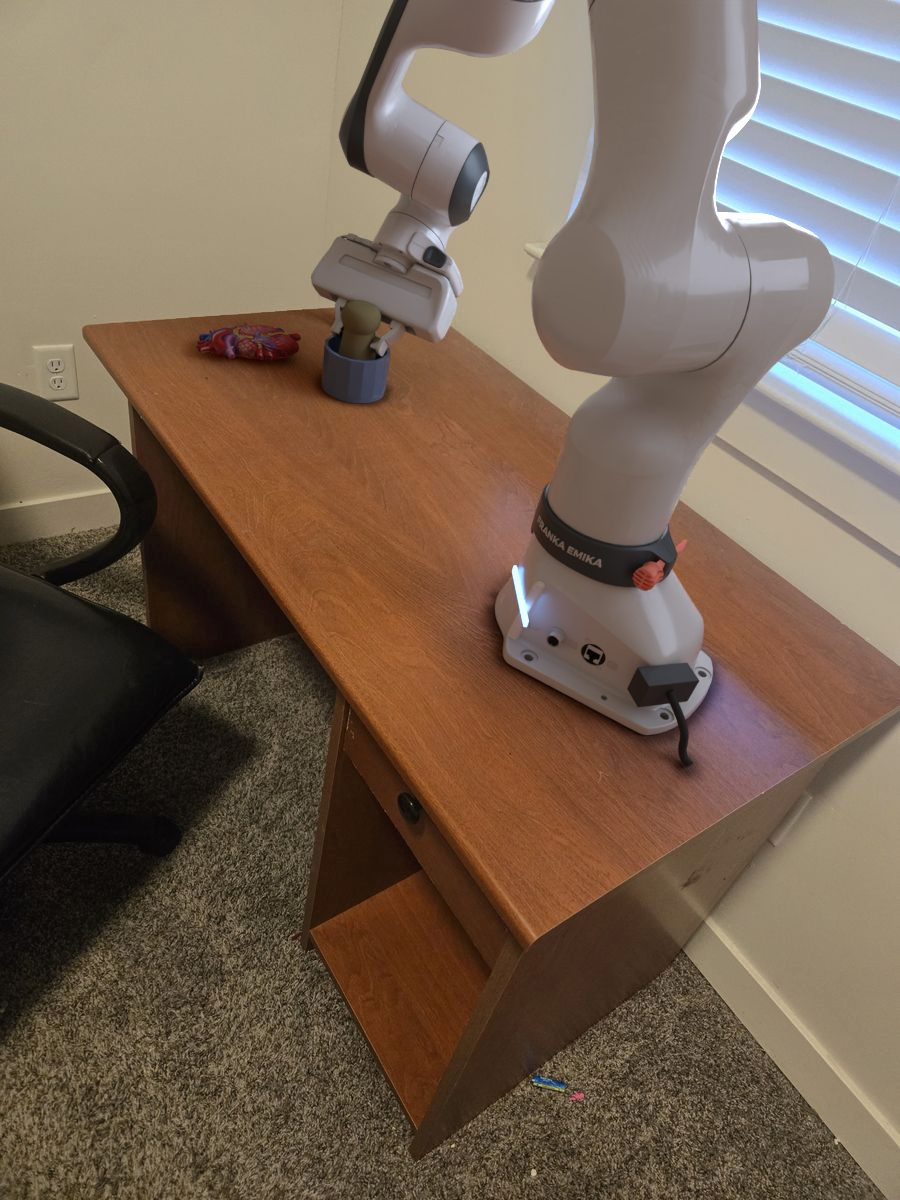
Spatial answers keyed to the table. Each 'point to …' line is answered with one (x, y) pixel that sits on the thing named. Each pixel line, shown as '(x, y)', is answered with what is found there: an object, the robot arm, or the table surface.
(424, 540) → the table surface
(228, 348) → the anatomical model
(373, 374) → the holder
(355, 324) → the olive green game pawn
